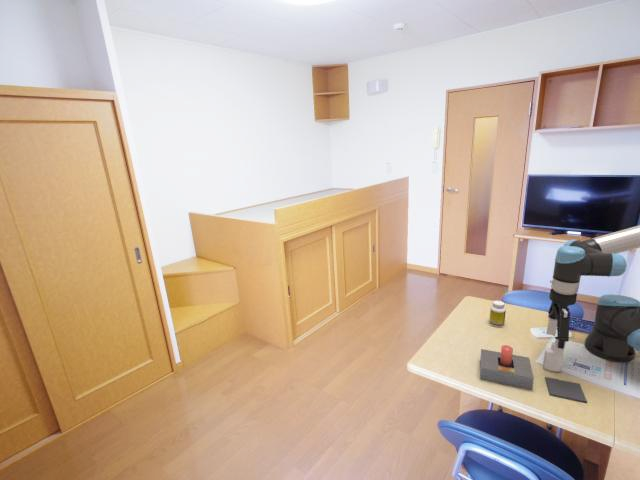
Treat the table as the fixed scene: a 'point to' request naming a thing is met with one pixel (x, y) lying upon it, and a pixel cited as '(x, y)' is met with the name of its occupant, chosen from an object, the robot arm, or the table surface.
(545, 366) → the eye dropper bottle
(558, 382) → the mat
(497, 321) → the pill bottle
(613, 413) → the table surface
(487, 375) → the grey flat block
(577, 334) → the table surface
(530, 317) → the table surface
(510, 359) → the plunger
